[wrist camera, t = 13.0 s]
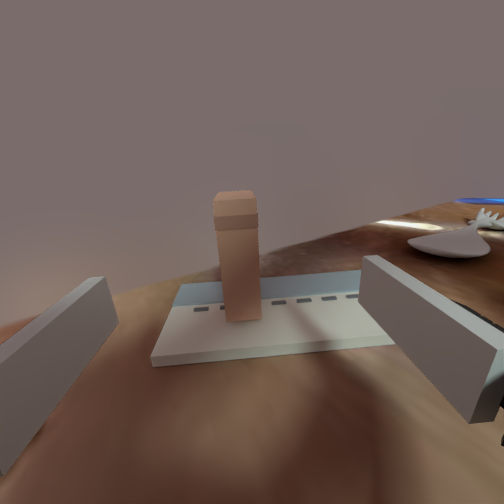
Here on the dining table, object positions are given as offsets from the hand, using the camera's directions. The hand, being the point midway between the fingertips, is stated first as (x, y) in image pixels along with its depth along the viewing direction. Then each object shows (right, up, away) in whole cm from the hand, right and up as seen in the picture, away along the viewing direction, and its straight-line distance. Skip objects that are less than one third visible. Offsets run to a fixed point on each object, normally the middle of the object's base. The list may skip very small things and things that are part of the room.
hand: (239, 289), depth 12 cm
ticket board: (+6, -4, +11) cm, 13 cm away
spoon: (+38, +4, +28) cm, 47 cm away
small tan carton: (0, -3, +10) cm, 11 cm away
